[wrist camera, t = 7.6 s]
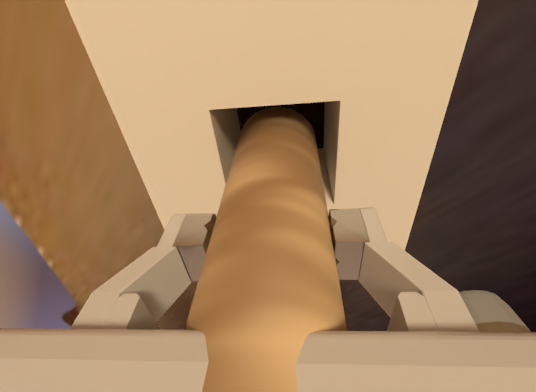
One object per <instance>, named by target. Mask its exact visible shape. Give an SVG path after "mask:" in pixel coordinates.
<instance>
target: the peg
mask: <svg viewBox="0 0 536 392" xmlns="http://www.w3.org/2000/svg"><path fill="white" fill-rule="evenodd" d="M184 330H199V331H202V332H203V333H204V335H205V337H206V345H207V353H208V360H209V363H208V367H207V372H206V376H205V380H204V385H203V389H202V392H297V379H296V361H297V359H298V356H299V354H300V351H301V349H302V346H303V343H304V341H305V338H306V337H307V336H308V334H310V333H312V332H314V331H347V327H346V321H345V314H344V308H343V302H342V296H341V290H340V284H339V278H338V272H337V266H336V259H335V254H334V248H333V242H332V235H331V229H330V223H329V217H328V210H327V204H326V198H325V192H324V186H323V180H322V174H321V168H320V162H319V155H318V149H317V143H316V137H315V132H314V130H313V127H312V126H311V124H310V123H309V121H308V120H307V119H306V118H305V117H304V116H303V115H301V114H300V113H298V112H297V111H295V110H292V109H289V108H285V107H270V108H266V109H263V110H260V111H258V112H256V113H255V114H253V115H252V116H251V117H250V118H249V119H248V120H247V121H246V123H245V124H244V126H243V128H242V130H241V133H240V137H239V140H238V144H237V147H236V151H235V154H234V158H233V161H232V165H231V168H230V172H229V175H228V179H227V182H226V186H225V189H224V193H223V196H222V200H221V203H220V207H219V210H218V214H217V217H216V221H215V224H214V228H213V231H212V235H211V238H210V242H209V245H208V249H207V252H206V256H205V259H204V263H203V266H202V270H201V273H200V277H199V280H198V284H197V287H196V291H195V294H194V298H193V301H192V305H191V308H190V312H189V315H188V319H187V322H186V326H185V329H184Z"/></svg>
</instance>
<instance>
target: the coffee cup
mask: <svg viewBox="0 0 536 392" xmlns="http://www.w3.org/2000/svg"><path fill="white" fill-rule="evenodd" d="M459 294H460V296H461V298H462V299H463V301H464V303H465V305H466V307H467V309H468V311H469V313H470V315H471V317H472V318H473V320H474V322H475V324H476V326H477V328H478V330H479V332H531V331H530V330H529V329H528V328H527V326H526V325H525V324H524V323H523V322H522V320H521V319H520V318H519V317H518V316H517V314H516V313H515V312H514V311H513V310H512V308H511V307H510V306H509V305H508V304H506V303H505V302H504V301H502V299H501V298H500V297H499V296H497V295H496V294H494V293H491V292H488V291H481V290H470V291H462V292H459Z"/></svg>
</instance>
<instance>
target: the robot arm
mask: <svg viewBox="0 0 536 392" xmlns="http://www.w3.org/2000/svg"><path fill="white" fill-rule="evenodd" d="M328 217H329V223H330V229H331V235H332V242H333V248H334V254H335V259H336V266H337V272H338V278H339V280H359V282H360V283H361V284H362V285H363V287H364V288H365V289H366V290H367V291H368V292H369V294H370V295H371V296H372V297H373V298H374V299H375V301H376V302H377V303H378V304H379V305H380V306H381V307H382V309H383V310H384V311H385V312H386V313H387V314H388V316H389V317H390V318H391V319H390V322H389V325H388V328H387V331H314V332H312V333H310V334H308V336H307V337H306V338H305V341H304V343H303V346H302V349H301V351H300V354H299V356H298V359H297V361H296V379H297V392H536V332H479V330H478V328H477V326H476V324H475V322H474V320H473V318H472V317H471V315H470V313H469V311H468V309H467V307H466V305H465V303H464V301H463V299H462V298H461V296H460V294H459V292H458V290H456V289H455V288H454V287H452V286H451V285H450V284H448V283H447V282H446V281H444V280H443V279H442V278H440V277H439V276H438V275H436V274H435V273H434V272H432V271H431V270H430V269H428V268H427V267H425V266H424V265H423V264H421V263H420V262H419V261H417V260H416V259H415V258H413V257H412V256H411V255H409V254H408V253H407V252H405V251H404V250H403V249H401V248H400V247H399V246H397V245H396V244H395V243H393V242H388V241H387V238H386V236H385V233H384V230H383V228H382V225H381V222H380V220H379V217H378V214H377V212H376V209H375V208H374V207H367V208H352V209H329V215H328ZM215 221H216V214H214V213H193V214H174V215H172V216H171V218H170V220H169V222H168V224H167V227H166V229H165V231H164V233H163V235H162V237H161V239H160V241H159V243H158V245H157V247H152V248H151V249H150V250H148V251H147V252H146V253H144V254H143V255H142V256H140V257H139V258H138V259H136V260H135V261H134V262H132V263H131V264H130V265H128V266H127V267H126V268H124V269H123V270H122V271H120V272H119V273H117V274H116V275H115V276H113V277H112V278H111V279H109V280H108V281H107V282H105V283H104V284H103V285H101V286H100V287H99V288H97V289H96V290H95V291H93V292H92V293H91V295H90V297H89V298H88V300H87V302H86V303H85V305H84V307H83V308H82V310H81V312H80V313H79V315H78V316H77V318H76V320H75V321H74V323H73V325H72V326H71V328H70V329H5V328H4V329H1V328H0V392H202V389H203V385H204V380H205V376H206V372H207V367H208V363H209V360H208V353H207V345H206V337H205V335H204V333H203V332H202V331H199V330H160V328H159V327H158V325H157V324H156V322H157V321H158V320H159V319H160V318H161V317H162V315H163V314H164V313H165V312H166V311H167V310H168V309H169V308H170V306H171V305H172V304H173V303H174V302H175V301H176V300H177V298H178V297H179V296H180V295H181V294H182V293H183V292H184V291H185V289H186V288H187V287H188V286H189V285H190V284H191V282H192V281H198V280H199V277H200V273H201V270H202V266H203V263H204V259H205V256H206V252H207V249H208V245H209V242H210V238H211V235H212V231H213V228H214V224H215Z"/></svg>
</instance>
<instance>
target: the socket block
mask: <svg viewBox="0 0 536 392" xmlns="http://www.w3.org/2000/svg"><path fill="white" fill-rule="evenodd" d="M65 3H66V5H67V7H68V10H69V12H70V14H71V17H72V19H73V21H74V24H75V26H76V28H77V30H78V33H79V35H80V37H81V40H82V42H83V44H84V46H85V49H86V51H87V53H88V56H89V58H90V60H91V63H92V65H93V67H94V69H95V72H96V74H97V76H98V79H99V81H100V83H101V85H102V88H103V90H104V92H105V95H106V97H107V99H108V102H109V104H110V106H111V108H112V111H113V113H114V115H115V118H116V120H117V122H118V124H119V127H120V129H121V131H122V134H123V136H124V138H125V141H126V143H127V145H128V147H129V150H130V152H131V154H132V157H133V159H134V161H135V163H136V166H137V168H138V170H139V173H140V175H141V177H142V180H143V182H144V184H145V186H146V189H147V191H148V193H149V196H150V198H151V200H152V202H153V205H154V207H155V209H156V212H157V214H158V216H159V219H160V221H161V223H162V225H163V228H164V230H165V229H166V227H167V224H168V222H169V220H170V218H171V216H172V215H174V214H193V213H214V214H216V217H217V214H218V210H219V207H220V203H221V200H222V196H223V193H224V189H225V186H226V182H227V179H228V175H229V172H230V168H231V165H232V161H233V158H234V154H235V151H236V147H237V144H238V140H239V137H240V133H241V130H240V123H239V117H238V111H237V108H242V107H257V106H271V105H286V104H300V103H315V102H325V108H324V143H323V148H318V155H319V162H320V168H321V174H322V180H323V186H324V192H325V198H326V204H327V210H328V215H329V209H352V208H367V207H374V208H375V209H376V212H377V214H378V217H379V220H380V222H381V225H382V228H383V230H384V233H385V236H386V238H387V241H388V242H393V243H395V244H396V245H397V246H399V247H400V248H401V249H403V250H404V251H405V248H406V244H407V241H408V238H409V234H410V231H411V227H412V224H413V221H414V217H415V214H416V210H417V207H418V204H419V200H420V197H421V194H422V190H423V187H424V183H425V180H426V177H427V173H428V170H429V166H430V163H431V160H432V156H433V153H434V149H435V146H436V143H437V139H438V136H439V132H440V129H441V126H442V122H443V119H444V116H445V112H446V109H447V105H448V102H449V99H450V95H451V92H452V88H453V85H454V82H455V78H456V75H457V71H458V68H459V65H460V61H461V58H462V55H463V51H464V48H465V44H466V41H467V38H468V34H469V31H470V27H471V24H472V21H473V17H474V14H475V10H476V7H477V4H478V0H67V1H65Z"/></svg>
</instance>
